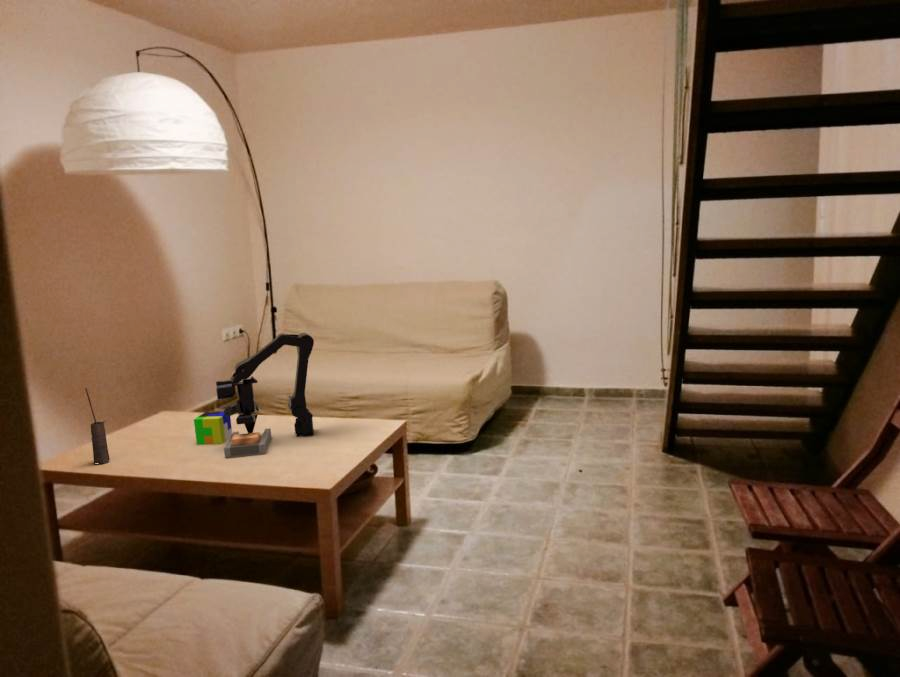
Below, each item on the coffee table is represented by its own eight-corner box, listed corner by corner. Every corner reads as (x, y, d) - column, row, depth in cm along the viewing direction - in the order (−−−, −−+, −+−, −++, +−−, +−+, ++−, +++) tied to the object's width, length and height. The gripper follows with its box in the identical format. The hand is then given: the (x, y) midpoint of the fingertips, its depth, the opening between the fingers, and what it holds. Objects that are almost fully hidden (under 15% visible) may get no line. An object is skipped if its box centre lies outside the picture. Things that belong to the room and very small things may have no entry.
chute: (271, 437, 268) (270, 428, 268) (265, 454, 249) (264, 444, 248) (234, 440, 267) (233, 431, 266) (225, 458, 247) (224, 448, 246)
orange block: (261, 445, 256) (259, 432, 256) (258, 450, 251) (257, 437, 250) (235, 447, 255) (234, 434, 254) (232, 452, 249) (231, 439, 249)
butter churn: (124, 456, 256) (113, 383, 251) (111, 465, 246) (99, 389, 242) (99, 457, 256) (88, 384, 251) (85, 467, 247) (73, 390, 242)
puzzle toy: (232, 435, 274) (229, 411, 272) (221, 443, 264) (218, 418, 262) (208, 436, 275) (205, 412, 273) (196, 444, 265) (193, 419, 263)
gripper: (227, 391, 268) (232, 430, 270) (219, 404, 250) (224, 445, 252) (257, 388, 269) (261, 427, 272) (251, 400, 251) (256, 442, 254)
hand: (250, 435), depth 262 cm, fingers closed
